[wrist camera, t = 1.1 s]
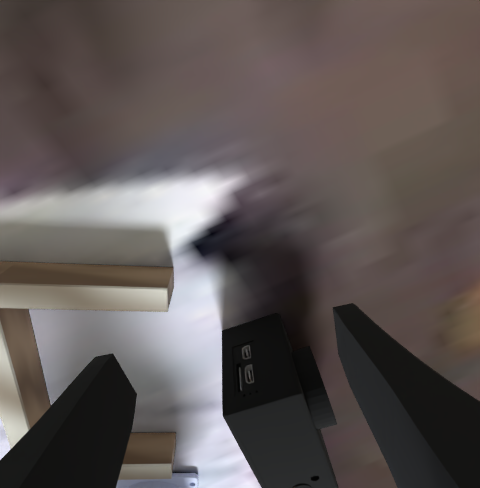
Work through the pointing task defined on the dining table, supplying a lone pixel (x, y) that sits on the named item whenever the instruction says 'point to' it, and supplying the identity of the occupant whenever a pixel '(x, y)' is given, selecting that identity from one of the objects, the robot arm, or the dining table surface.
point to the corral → (73, 298)
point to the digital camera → (276, 406)
